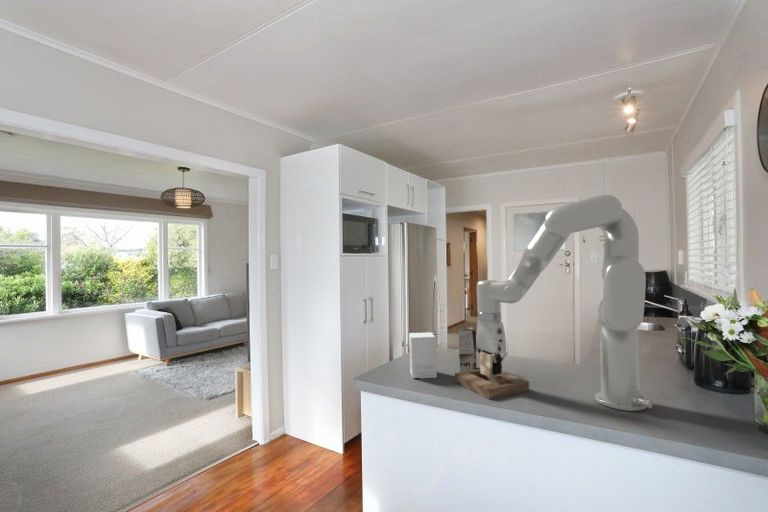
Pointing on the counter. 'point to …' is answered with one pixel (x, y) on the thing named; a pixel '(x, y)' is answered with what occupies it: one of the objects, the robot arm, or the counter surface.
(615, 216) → the robot arm
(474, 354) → the coffee box
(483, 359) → the maple block
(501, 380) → the pocket block
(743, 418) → the counter surface
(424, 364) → the supplement box
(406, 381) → the counter surface
